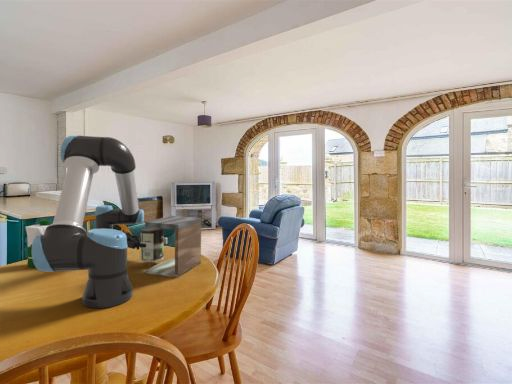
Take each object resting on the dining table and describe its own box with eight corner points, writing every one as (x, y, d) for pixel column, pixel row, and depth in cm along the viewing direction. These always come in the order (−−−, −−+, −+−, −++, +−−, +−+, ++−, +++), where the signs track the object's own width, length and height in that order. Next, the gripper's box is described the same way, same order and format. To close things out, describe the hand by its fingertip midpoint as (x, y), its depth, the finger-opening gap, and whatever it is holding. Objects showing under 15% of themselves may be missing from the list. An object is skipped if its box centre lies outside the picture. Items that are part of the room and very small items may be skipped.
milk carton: (58, 263, 130) (57, 220, 129) (37, 269, 122) (36, 223, 120) (44, 261, 133) (43, 219, 132) (23, 266, 124) (22, 222, 123)
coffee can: (162, 254, 139) (163, 226, 138) (164, 260, 130) (164, 230, 129) (140, 256, 135) (140, 227, 134) (140, 263, 126) (140, 231, 125)
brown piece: (145, 272, 121) (145, 222, 120) (171, 259, 140) (171, 215, 139) (177, 277, 116) (178, 224, 115) (200, 263, 136) (201, 217, 134)
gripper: (136, 241, 148) (173, 245, 142) (101, 252, 126) (144, 257, 120) (136, 227, 147) (173, 230, 141) (101, 236, 126) (144, 240, 120)
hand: (160, 243), depth 131 cm, fingers closed on coffee can, 10 cm apart
